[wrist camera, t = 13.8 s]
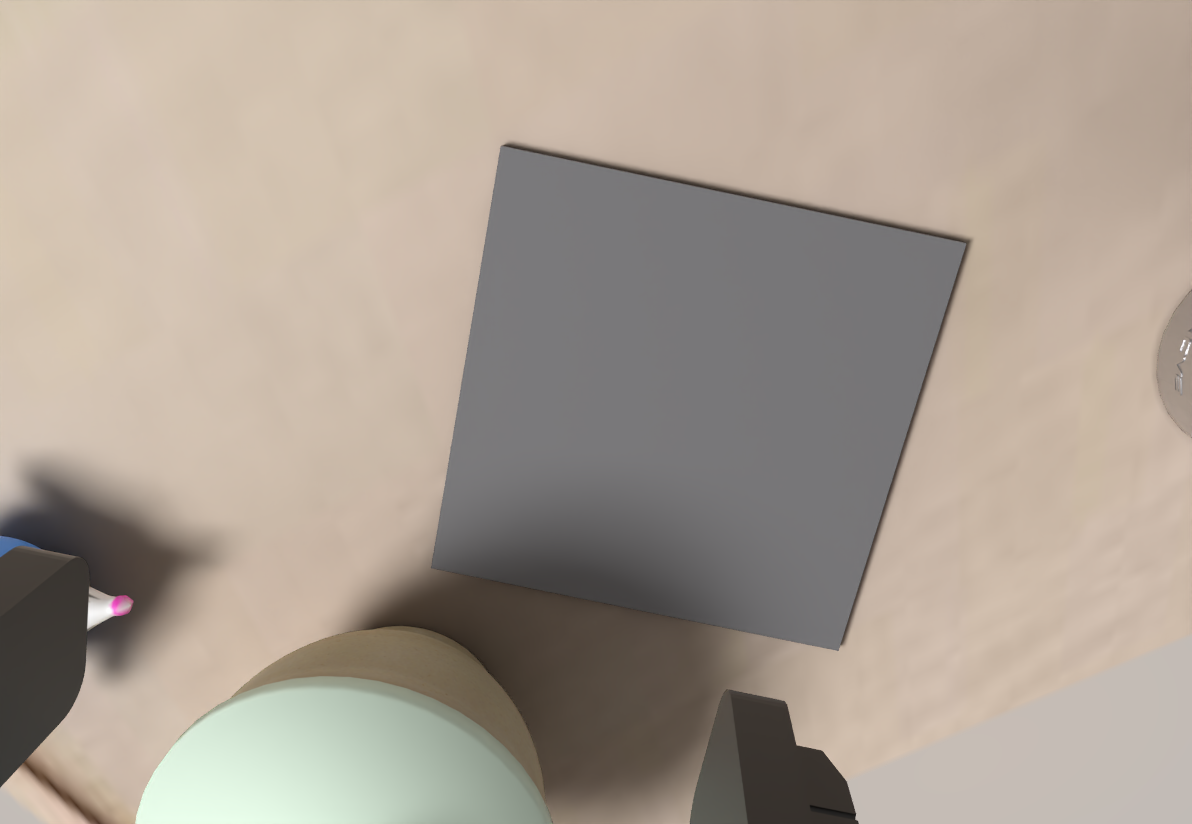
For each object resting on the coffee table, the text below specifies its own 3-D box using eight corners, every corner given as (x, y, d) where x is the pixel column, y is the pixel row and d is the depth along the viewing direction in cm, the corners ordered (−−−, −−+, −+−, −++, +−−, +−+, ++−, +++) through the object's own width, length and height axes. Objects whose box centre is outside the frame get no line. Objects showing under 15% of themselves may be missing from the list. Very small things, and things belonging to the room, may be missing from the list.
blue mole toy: (212, 666, 51) (131, 773, 43) (-3, 701, 53) (-119, 811, 45) (133, 448, 48) (29, 520, 40) (-95, 490, 49) (-239, 568, 41)
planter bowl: (625, 762, 52) (619, 930, 42) (364, 876, 55) (298, 1059, 45) (462, 505, 48) (410, 620, 38) (190, 644, 51) (74, 786, 41)
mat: (963, 242, 43) (966, 243, 43) (837, 646, 49) (838, 650, 49) (501, 145, 43) (500, 146, 42) (432, 564, 49) (431, 568, 49)
